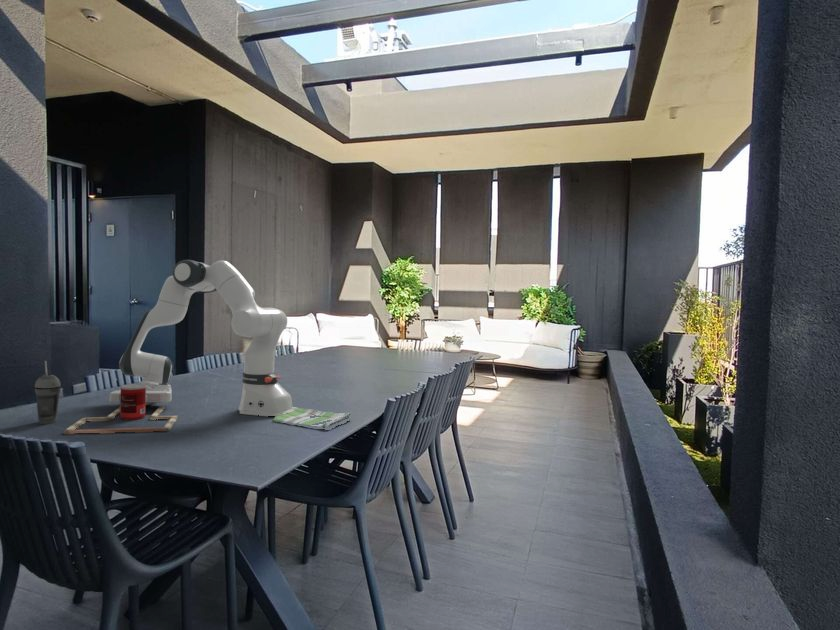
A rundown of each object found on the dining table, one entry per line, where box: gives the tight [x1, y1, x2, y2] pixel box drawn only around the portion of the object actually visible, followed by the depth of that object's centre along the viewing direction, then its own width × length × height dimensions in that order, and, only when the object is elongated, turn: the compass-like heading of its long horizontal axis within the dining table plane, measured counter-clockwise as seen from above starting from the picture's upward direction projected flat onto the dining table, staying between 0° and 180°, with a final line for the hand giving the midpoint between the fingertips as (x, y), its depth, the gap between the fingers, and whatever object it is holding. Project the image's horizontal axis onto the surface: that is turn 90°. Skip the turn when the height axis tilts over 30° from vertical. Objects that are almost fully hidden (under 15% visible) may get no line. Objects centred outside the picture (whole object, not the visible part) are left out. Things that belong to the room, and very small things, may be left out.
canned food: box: [119, 383, 146, 421], centre depth 182 cm, size 8×8×11 cm
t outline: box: [62, 405, 179, 435], centre depth 178 cm, size 32×29×1 cm
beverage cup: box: [33, 360, 62, 425], centre depth 171 cm, size 7×7×20 cm
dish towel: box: [271, 407, 352, 428], centre depth 187 cm, size 17×23×4 cm
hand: (136, 400), depth 186 cm, fingers closed, pressing on canned food
